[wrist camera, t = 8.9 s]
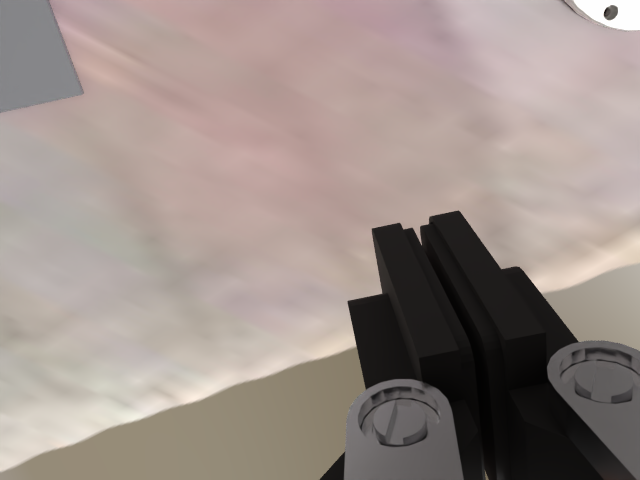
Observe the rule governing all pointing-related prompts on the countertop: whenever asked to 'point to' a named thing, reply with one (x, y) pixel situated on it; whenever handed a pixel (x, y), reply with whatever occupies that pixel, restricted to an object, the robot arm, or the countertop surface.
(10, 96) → the mat
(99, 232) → the countertop surface
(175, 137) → the countertop surface
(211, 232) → the countertop surface
